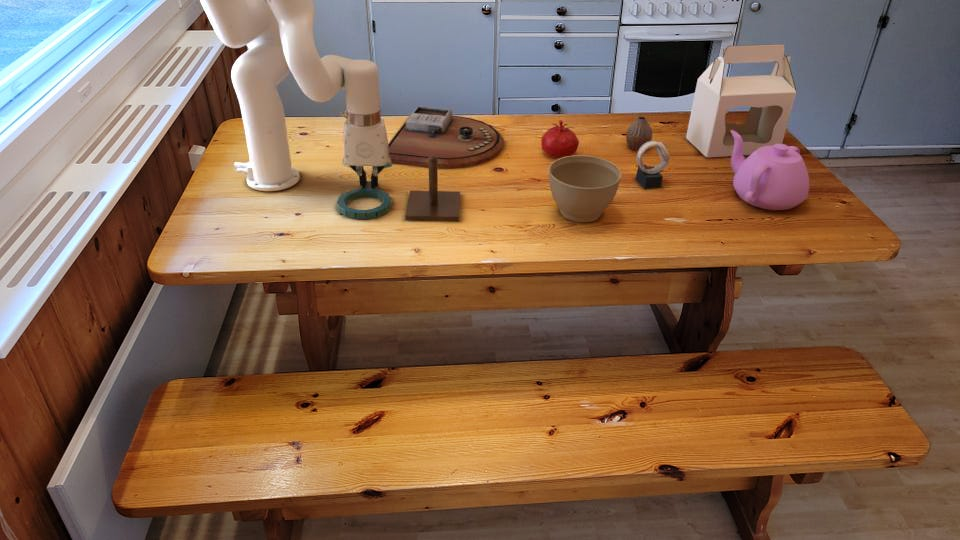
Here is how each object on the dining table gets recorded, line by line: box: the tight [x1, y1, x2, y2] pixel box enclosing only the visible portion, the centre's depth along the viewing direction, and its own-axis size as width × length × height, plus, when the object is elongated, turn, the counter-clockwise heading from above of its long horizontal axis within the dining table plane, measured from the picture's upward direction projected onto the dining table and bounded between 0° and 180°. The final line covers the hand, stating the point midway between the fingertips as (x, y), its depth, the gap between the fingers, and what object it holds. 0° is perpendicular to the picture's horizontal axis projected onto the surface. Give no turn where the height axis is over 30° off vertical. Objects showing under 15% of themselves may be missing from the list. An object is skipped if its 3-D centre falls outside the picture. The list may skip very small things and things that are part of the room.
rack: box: [404, 155, 461, 222], centre depth 162 cm, size 12×12×13 cm
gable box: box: [685, 43, 797, 159], centre depth 191 cm, size 22×13×28 cm, turn 101°
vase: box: [625, 115, 653, 152], centre depth 193 cm, size 7×7×9 cm
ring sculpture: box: [635, 140, 671, 190], centre depth 175 cm, size 6×8×11 cm
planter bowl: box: [548, 154, 622, 223], centre depth 162 cm, size 16×16×11 cm
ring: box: [336, 180, 392, 220], centre depth 166 cm, size 12×16×2 cm
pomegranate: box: [540, 119, 580, 159], centre depth 189 cm, size 10×10×9 cm
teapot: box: [730, 130, 810, 211], centre depth 171 cm, size 22×22×14 cm
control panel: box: [388, 105, 504, 170], centre depth 194 cm, size 31×5×30 cm
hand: (369, 188), depth 172 cm, fingers closed on ring, 1 cm apart
